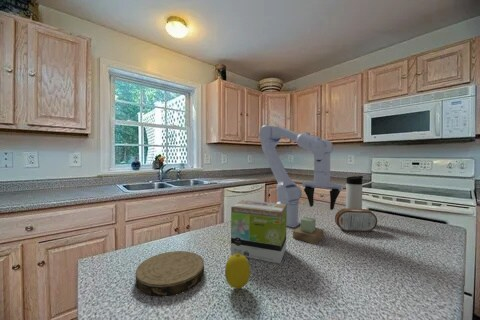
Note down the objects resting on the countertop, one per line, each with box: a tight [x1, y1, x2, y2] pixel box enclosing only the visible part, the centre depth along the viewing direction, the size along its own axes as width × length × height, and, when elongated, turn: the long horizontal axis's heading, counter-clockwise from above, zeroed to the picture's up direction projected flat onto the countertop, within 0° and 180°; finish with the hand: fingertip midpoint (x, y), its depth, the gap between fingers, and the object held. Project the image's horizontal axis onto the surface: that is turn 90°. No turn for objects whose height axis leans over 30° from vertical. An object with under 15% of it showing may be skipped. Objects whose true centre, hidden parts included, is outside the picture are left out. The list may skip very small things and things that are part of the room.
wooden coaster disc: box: [135, 250, 205, 298], centre depth 55 cm, size 16×16×3 cm
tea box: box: [230, 199, 287, 265], centre depth 67 cm, size 15×10×15 cm, turn 70°
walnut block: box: [292, 225, 324, 245], centre depth 80 cm, size 8×8×3 cm
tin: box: [334, 208, 378, 233], centre depth 86 cm, size 15×3×8 cm, turn 84°
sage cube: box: [299, 216, 317, 233], centre depth 80 cm, size 4×4×4 cm
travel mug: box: [345, 175, 364, 209], centre depth 97 cm, size 6×7×20 cm
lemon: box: [224, 253, 251, 290], centre depth 49 cm, size 6×6×8 cm
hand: (321, 207), depth 84 cm, fingers open, 7 cm apart
